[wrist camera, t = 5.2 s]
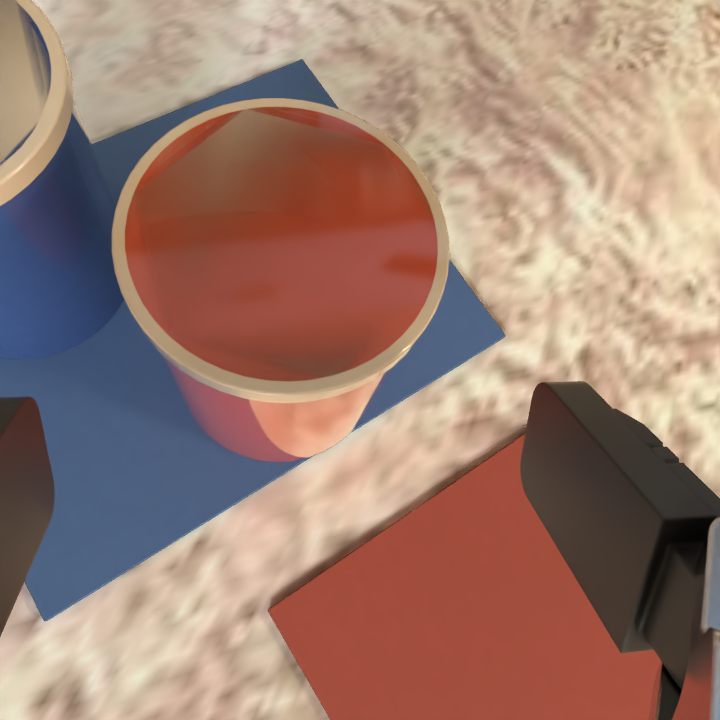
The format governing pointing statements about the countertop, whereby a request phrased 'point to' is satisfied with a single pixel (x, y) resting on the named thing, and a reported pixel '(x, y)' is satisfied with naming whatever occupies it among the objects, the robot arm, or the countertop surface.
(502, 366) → the countertop surface
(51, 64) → the blue crock
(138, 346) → the blue mat
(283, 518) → the countertop surface
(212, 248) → the red tapered cylinder
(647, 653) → the rust mat
